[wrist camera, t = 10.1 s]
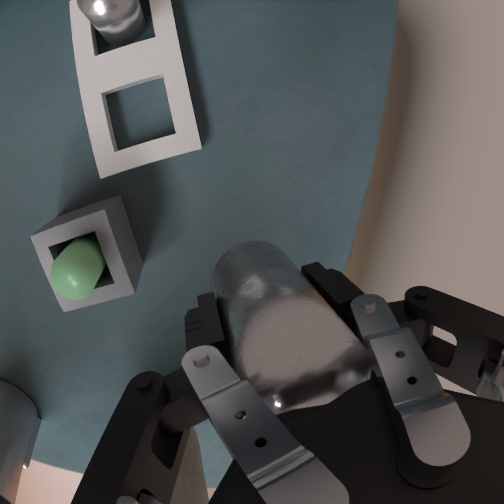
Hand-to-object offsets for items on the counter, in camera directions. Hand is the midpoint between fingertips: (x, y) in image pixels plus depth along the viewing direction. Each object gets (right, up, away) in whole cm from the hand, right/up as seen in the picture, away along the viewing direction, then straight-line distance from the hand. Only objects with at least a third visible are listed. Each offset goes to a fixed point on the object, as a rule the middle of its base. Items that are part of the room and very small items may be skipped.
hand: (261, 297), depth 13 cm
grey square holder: (-15, +3, +13) cm, 20 cm away
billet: (0, +1, +2) cm, 2 cm away
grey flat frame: (-11, +18, +8) cm, 23 cm away
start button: (-14, +2, +11) cm, 18 cm away
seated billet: (-12, +22, +6) cm, 26 cm away
